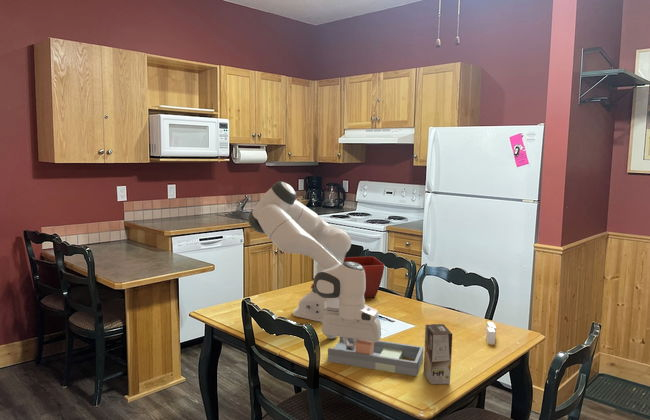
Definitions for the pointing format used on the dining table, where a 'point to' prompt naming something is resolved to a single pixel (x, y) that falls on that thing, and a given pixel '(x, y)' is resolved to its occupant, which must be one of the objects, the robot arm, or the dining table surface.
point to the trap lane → (380, 357)
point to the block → (364, 347)
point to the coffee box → (437, 353)
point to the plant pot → (369, 273)
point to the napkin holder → (491, 333)
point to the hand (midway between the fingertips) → (350, 349)
